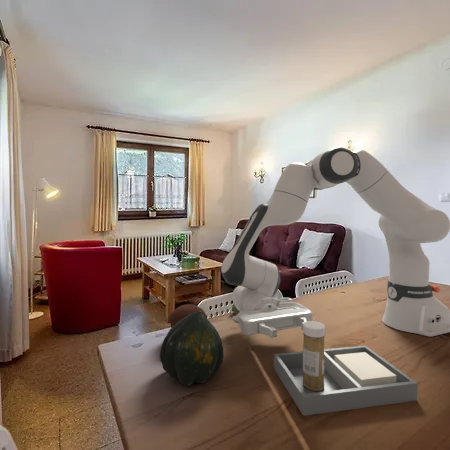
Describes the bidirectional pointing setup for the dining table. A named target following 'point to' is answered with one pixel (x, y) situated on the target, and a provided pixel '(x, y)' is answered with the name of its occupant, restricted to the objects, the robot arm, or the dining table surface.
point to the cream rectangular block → (365, 369)
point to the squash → (192, 350)
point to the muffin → (183, 313)
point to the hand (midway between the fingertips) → (291, 331)
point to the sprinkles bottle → (313, 355)
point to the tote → (340, 384)
